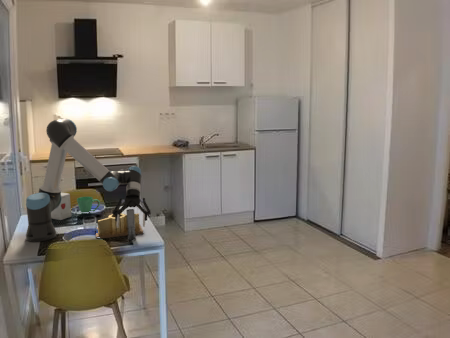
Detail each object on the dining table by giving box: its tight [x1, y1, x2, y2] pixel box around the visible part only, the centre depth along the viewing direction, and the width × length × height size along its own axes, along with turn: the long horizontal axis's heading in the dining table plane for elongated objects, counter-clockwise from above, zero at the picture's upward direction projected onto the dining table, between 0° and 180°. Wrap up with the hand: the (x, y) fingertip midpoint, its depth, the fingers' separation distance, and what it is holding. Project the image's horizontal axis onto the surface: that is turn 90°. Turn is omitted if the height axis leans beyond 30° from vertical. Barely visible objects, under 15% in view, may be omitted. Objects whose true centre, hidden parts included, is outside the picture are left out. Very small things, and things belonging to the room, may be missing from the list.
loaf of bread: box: [95, 213, 144, 239], centre depth 235 cm, size 25×15×10 cm, turn 109°
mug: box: [76, 196, 101, 213], centre depth 271 cm, size 15×10×10 cm
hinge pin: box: [125, 208, 137, 241], centre depth 223 cm, size 4×4×16 cm
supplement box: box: [51, 192, 72, 221], centre depth 263 cm, size 9×9×15 cm
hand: (130, 226), depth 221 cm, fingers open, 13 cm apart
